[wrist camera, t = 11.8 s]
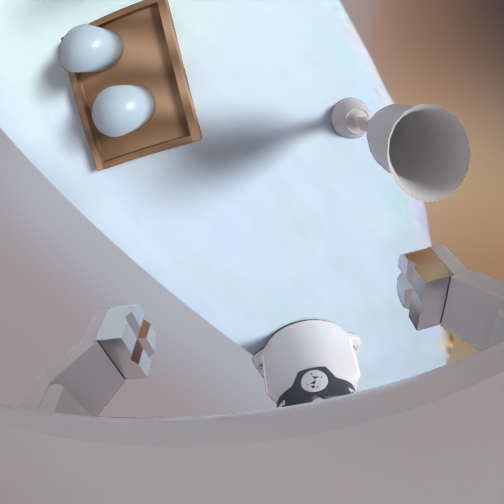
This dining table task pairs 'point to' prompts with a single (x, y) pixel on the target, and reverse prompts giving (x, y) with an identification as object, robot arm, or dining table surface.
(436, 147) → the chalice
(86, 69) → the white rounded capsule
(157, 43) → the tray
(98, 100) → the grey rounded piece
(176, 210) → the dining table surface
